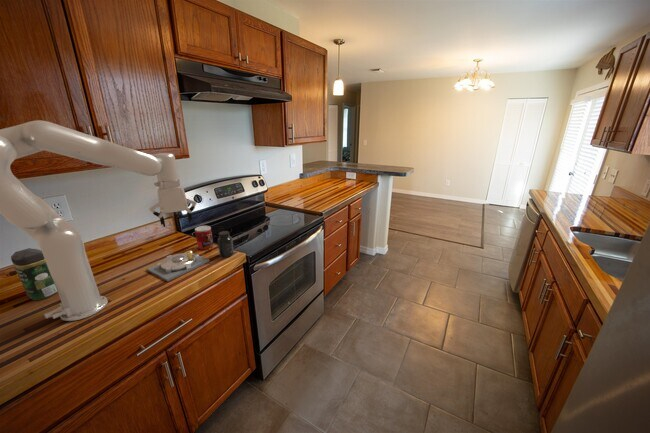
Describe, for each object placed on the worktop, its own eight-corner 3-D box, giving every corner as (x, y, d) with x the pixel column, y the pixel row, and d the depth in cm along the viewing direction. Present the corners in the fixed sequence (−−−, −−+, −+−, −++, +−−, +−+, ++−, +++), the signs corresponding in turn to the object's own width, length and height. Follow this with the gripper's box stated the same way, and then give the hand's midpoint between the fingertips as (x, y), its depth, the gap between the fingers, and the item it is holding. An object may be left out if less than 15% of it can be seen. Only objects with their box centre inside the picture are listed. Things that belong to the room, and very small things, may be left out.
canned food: (204, 251, 136) (201, 231, 132) (194, 248, 139) (191, 229, 136) (216, 246, 142) (214, 227, 138) (207, 243, 146) (204, 224, 142)
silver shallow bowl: (151, 272, 114) (148, 259, 112) (173, 255, 129) (170, 243, 127) (185, 273, 113) (182, 259, 111) (202, 255, 129) (200, 244, 126)
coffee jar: (24, 296, 100) (4, 252, 94) (51, 286, 107) (35, 244, 101) (35, 303, 96) (15, 258, 90) (63, 292, 103) (46, 249, 97)
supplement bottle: (216, 256, 131) (213, 233, 127) (227, 250, 136) (224, 229, 133) (226, 259, 128) (223, 236, 124) (236, 253, 133) (234, 231, 130)
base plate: (167, 281, 109) (166, 278, 109) (146, 270, 118) (146, 267, 117) (209, 261, 125) (209, 258, 125) (189, 253, 134) (188, 250, 133)
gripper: (144, 188, 99) (153, 230, 105) (194, 183, 109) (200, 222, 114) (144, 185, 105) (153, 225, 111) (191, 180, 114) (197, 217, 120)
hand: (177, 223), depth 112 cm, fingers open, 9 cm apart
